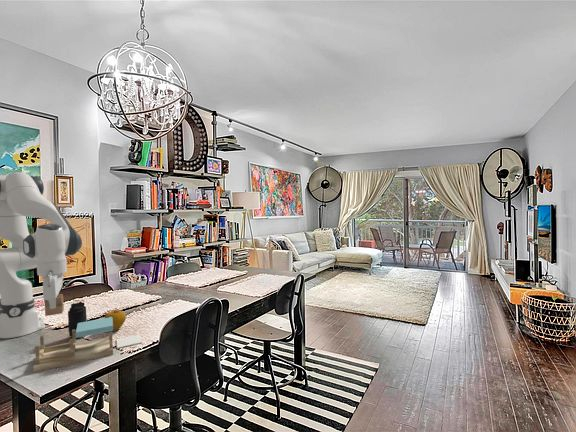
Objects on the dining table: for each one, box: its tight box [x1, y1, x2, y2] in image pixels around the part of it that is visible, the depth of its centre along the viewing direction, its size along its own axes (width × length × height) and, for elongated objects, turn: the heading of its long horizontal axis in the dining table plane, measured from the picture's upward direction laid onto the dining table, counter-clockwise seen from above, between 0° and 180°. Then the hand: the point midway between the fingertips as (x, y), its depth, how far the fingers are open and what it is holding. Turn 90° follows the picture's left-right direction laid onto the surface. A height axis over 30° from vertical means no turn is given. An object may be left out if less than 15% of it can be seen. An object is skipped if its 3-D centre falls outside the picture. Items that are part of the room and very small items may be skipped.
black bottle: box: [67, 301, 88, 339], centre depth 140 cm, size 7×7×15 cm
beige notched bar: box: [33, 329, 114, 373], centre depth 122 cm, size 14×24×8 cm, turn 120°
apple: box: [104, 309, 127, 331], centre depth 146 cm, size 9×9×9 cm
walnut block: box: [43, 293, 65, 317], centre depth 118 cm, size 5×5×6 cm
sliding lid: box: [76, 317, 114, 339], centre depth 125 cm, size 11×12×2 cm
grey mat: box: [116, 334, 143, 350], centre depth 133 cm, size 9×9×1 cm
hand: (54, 305), depth 118 cm, fingers closed on walnut block, 5 cm apart
